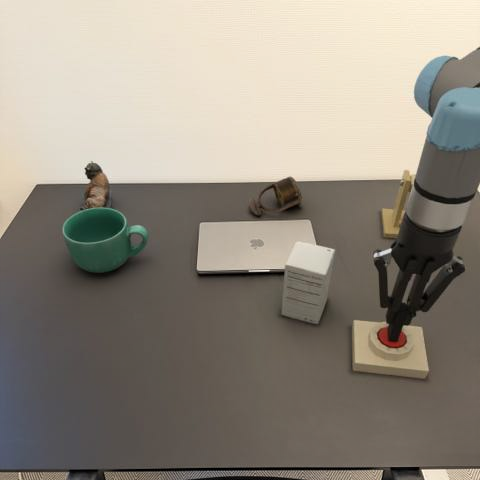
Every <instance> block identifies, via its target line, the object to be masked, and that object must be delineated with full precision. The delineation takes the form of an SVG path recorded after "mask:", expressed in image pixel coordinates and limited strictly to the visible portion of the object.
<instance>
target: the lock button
mask: <svg viewBox="0 0 480 480" xmlns="http://www.w3.org/2000/svg"><path fill="white" fill-rule="evenodd" d="M387 328H388V327H385V328H383V329H382V330H381V331H380V332H379V335H378V338H377V339H378V340H379V341H380V343H381V344H382V345H384V346H386V347H388V348H395V349H398V348H401V347H403V346H404V343H405V340H406V338H405V335H404V333H403V332H402V331H401V333H400V336H399V339H398V342H393V341H388V332H387Z"/></svg>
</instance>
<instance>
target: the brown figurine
mask: <svg viewBox="0 0 480 480" xmlns="http://www.w3.org/2000/svg"><path fill="white" fill-rule="evenodd" d="M84 170H85V172H84V175H85V176H86V179H87V180H90V181H89V183H88V184H87V186H86V188H85V191H84V193H83V194H84V196H83V198H84V199H83V201H84V204H81V205H80V206H79V208H78V212H80V211H83V210H86V209H91V208H110V209H111V205H112V198H113V197H112V196H113V192H112V190H111V187H110V182H109V179H108V176H107V175H106V173H104V171H103V168H102V167H101V166H100V165H99V164H98V163H96V162H94V161H92V160H90V162H89V163H87V165H86V167H84Z"/></svg>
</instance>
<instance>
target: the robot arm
mask: <svg viewBox="0 0 480 480" xmlns="http://www.w3.org/2000/svg"><path fill="white" fill-rule="evenodd" d="M413 99H414V101H415V104H416V105H417V106H418V108H420V109H421V110H422V111H424V113H425V114H427V115H428V116H429V117H430V118H431V121H430V123H429V124H428V126H427V131H426V135H425V136H426V137H425V140H424V144H423V148H422V151H421V155H420V158H419V162H418V165H417V169H416V173H415V175H416V176H415V179H414V183H413V187H412V190H411V192H409V193H410V194H409V197H408V200H407V203H406V206H405V210H406V212H405V213H404V216H403V219H402V222H401V226H400V229H399V233H398V236H397V239H396V238H395V240H394V241H393V242H392V243H391V245H390V248H387V249H385V250H383V251H382V250H381V249H378V248H377V249H375V250H374V251H373V252H372V253H373V254H372V255H373V257H372V258H373V265H374V266H375V268H376V270H377V272H378V275H377V276H378V295H379V296H378V297H379V307H380V308H381V309H387V310H386V313H385V321H386V323H387V324H389V325H388V328H387V332H388V341H393V342H398V339H399V336H400V333H401V331H402V328H403V325H404V326H411V323H412V321H413V318H416V317H417V312H422V313H427V312H429V311H430V310H431V308H432V307H433V306H434V305H435V304H436V302H437V301H438V300H439V298H440V297H441V296H442V295H443V294H444V292H445V291H446V289H447V288H448V287H449V286H450V285H451V283H453V281H454V280H455V279H456V278H457V277H459V276H461V275H462V274H463V273H465V271H466V267H465V263H464V261H463V257H462V256H459V255H458V256H455V254H454V248H455V245H456V243H457V242H458V241H457V240H458V238H459V236H460V233H461V231H462V228H463V225H464V223H465V222H466V218H467V216H468V215H469V211H470V208H471V206H472V204H473V202H474V198H475V197H476V194H477V191H478V190H479V186H480V46H478V47H477V48H476V49H474V50H472V51H470V52H469V53H468V54H467V55H465V56H463V57H462V58H460V59H459V58H458V57H457V56H451V55H441V56H437V57H435V58H433V59H431V60H430V61H429V62H427V63H426V65H424V67H423V68H422V69H421V71H420V72H419V74H418V76H417V78H416V80H415V83H414V87H413ZM391 259H393V260H394V263H396V265H397V267H398V269H399V270H398V273H397V276H396V279H395V282H394V285H393V288H392V291H391V294H390V295H389V290H388V289H389V285H388V284H389V283H388V279H389V278H388V267H389V265H390V264H391ZM439 269H440V270H439ZM438 270H439V271H438ZM436 271H438V273H437V274H436V276H434V278H433V280H431V278H432V274H433V273H435V272H436ZM413 275H414V278H413V281H412V284H411V287H410V289H409V293H408V295H407V298H406V302H403V300H404V297H405V294H406V291H407V288H408V285H409V282H410V281H411V280H412V277H413ZM430 280H431V283H429V282H430ZM428 283H429V285H428V286H427V284H428ZM426 286H427V287H426Z"/></svg>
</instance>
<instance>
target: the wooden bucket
mask: <svg viewBox="0 0 480 480" xmlns="http://www.w3.org/2000/svg"><path fill="white" fill-rule="evenodd" d="M272 189H273V193H274V195H275V199H276V201H277V203H278V205H279V206H280V207H279V208H274V209H273V208H268V207H265V206H264V205H263V204H262V201H261V199H262V197H263V194H265V192H267V191H269V190H272ZM301 192H302V191H301V189H300V187H299V184H298V183H297V180H296V179H295V178H294V177H292V176H291V175H290V176H287V177H285V178H282V179H280V180H278V181H275V182H273V183H272V184H269V185H267V186H265V187H264V188H263V189H262V190H261V191H260V192H259V194H258V197H257V201H256V200H255V199H254V198H250V199H249V201H248V207H249V210H250V211H251V213H253V214H254V215H255V216H261V215H262V210H263V211H264V212H267V213H271V214H277V213H280V212H282V211H285V210H287V209H289V208H291V207H294V206H296V205H297V206H298V207H299V208H302V199H303V197H302V193H301Z"/></svg>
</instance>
